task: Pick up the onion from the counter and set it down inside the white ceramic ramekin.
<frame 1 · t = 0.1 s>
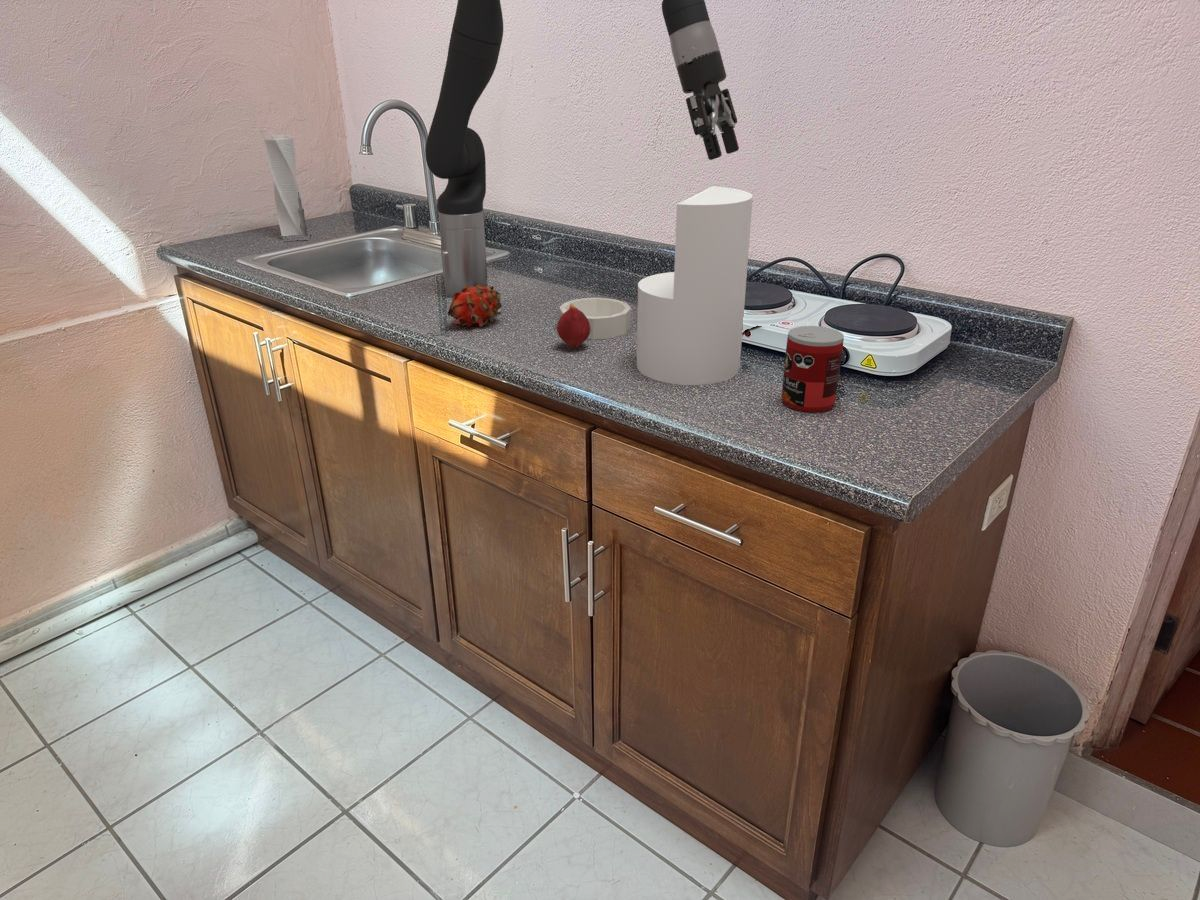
hand: (724, 155, 144), 31 cm above the counter, tool tilted 20°, fingers open, 8 cm apart
canned food: (807, 404, 128), on the counter
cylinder: (687, 367, 142), on the counter
ramekin: (595, 328, 160), on the counter
skyscraper: (294, 238, 230), on the counter
dragon fruit: (475, 326, 162), on the counter
onion: (574, 348, 150), on the counter
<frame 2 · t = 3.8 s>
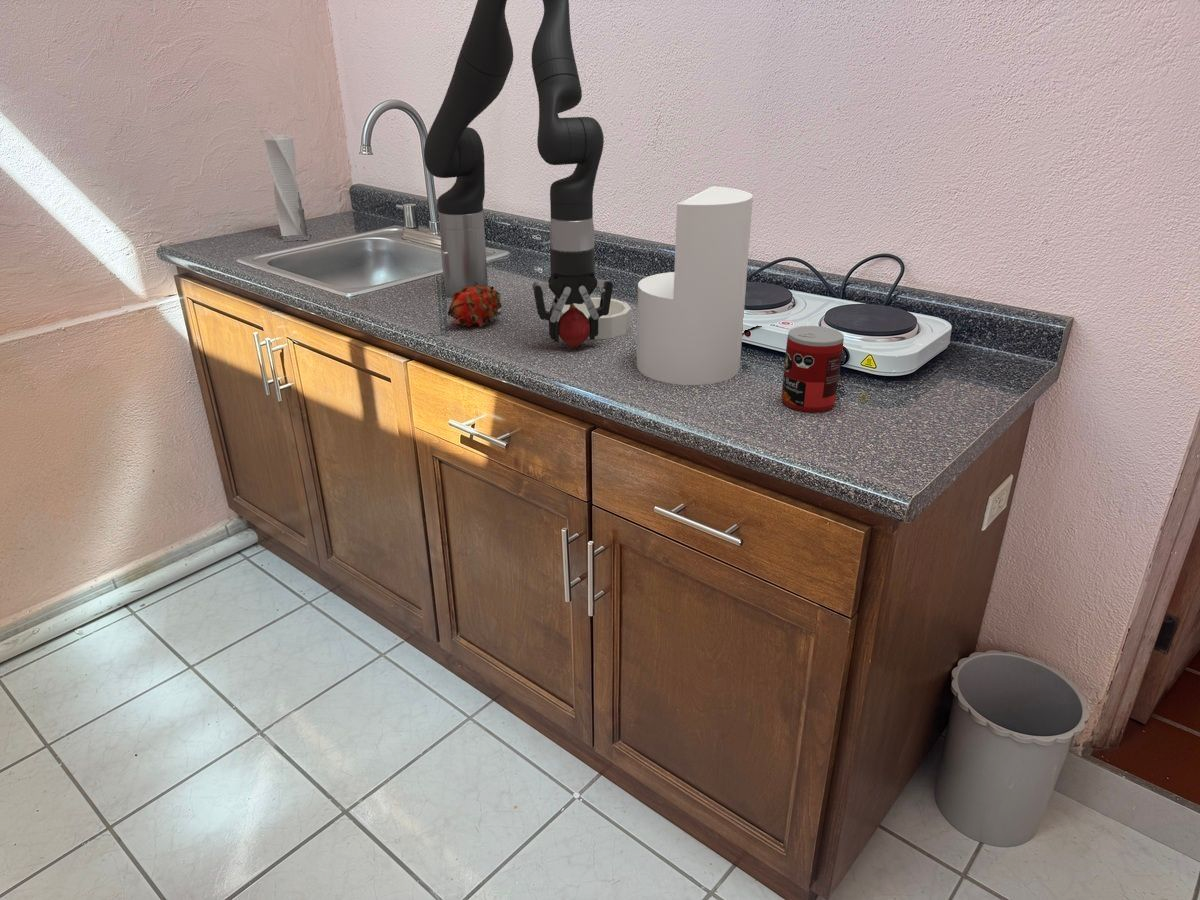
hand: (573, 339, 149), 2 cm above the counter, tool pointing down, fingers closed on onion, 6 cm apart
onion: (574, 348, 150), on the counter, touching gripper
everything else where it was.
when the fingers open (4 cm above the counter, at t = 8.7 s): onion drops 2 cm, resting on ramekin.
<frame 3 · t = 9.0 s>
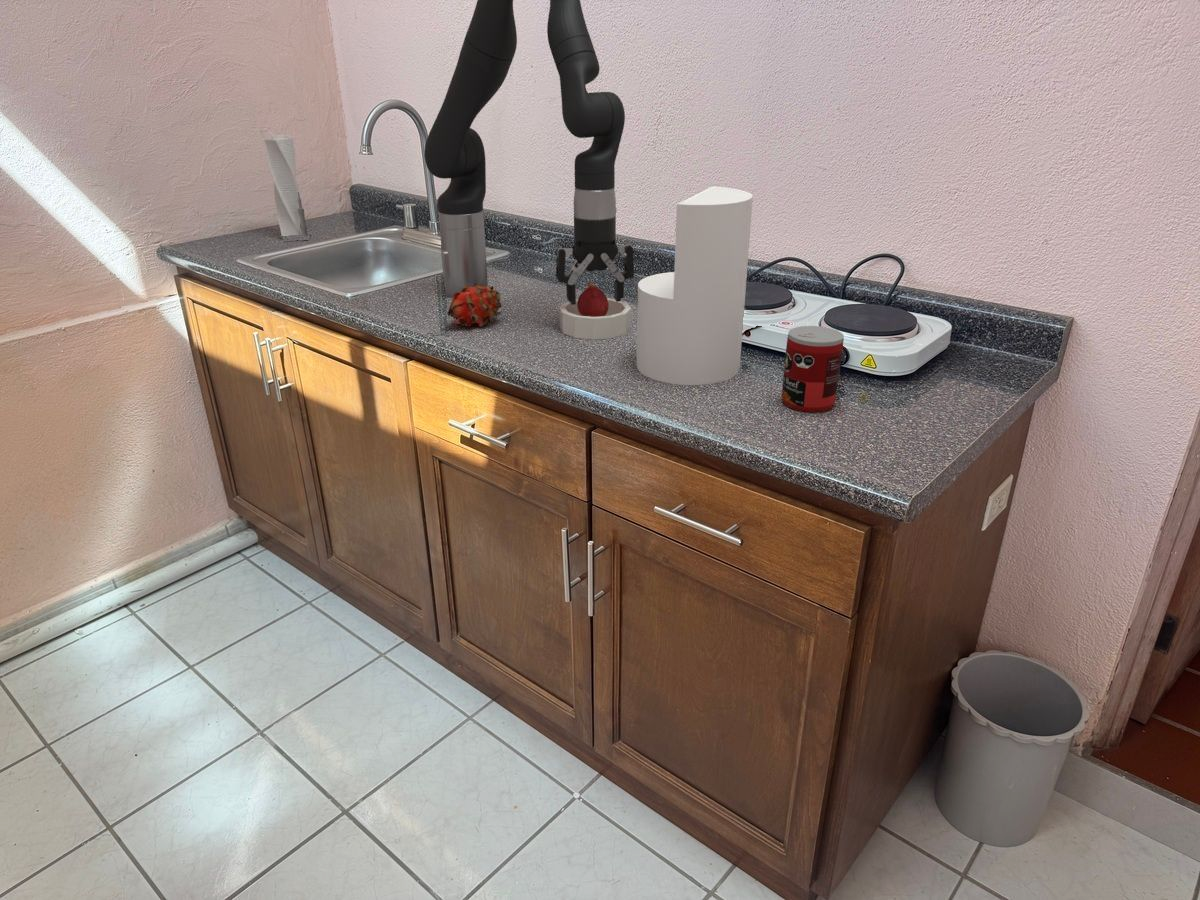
hand: (595, 302, 157), 5 cm above the counter, tool pointing down, fingers open, 8 cm apart
onion: (593, 324, 159), point 1 cm above the counter, touching ramekin
everything else where it was.
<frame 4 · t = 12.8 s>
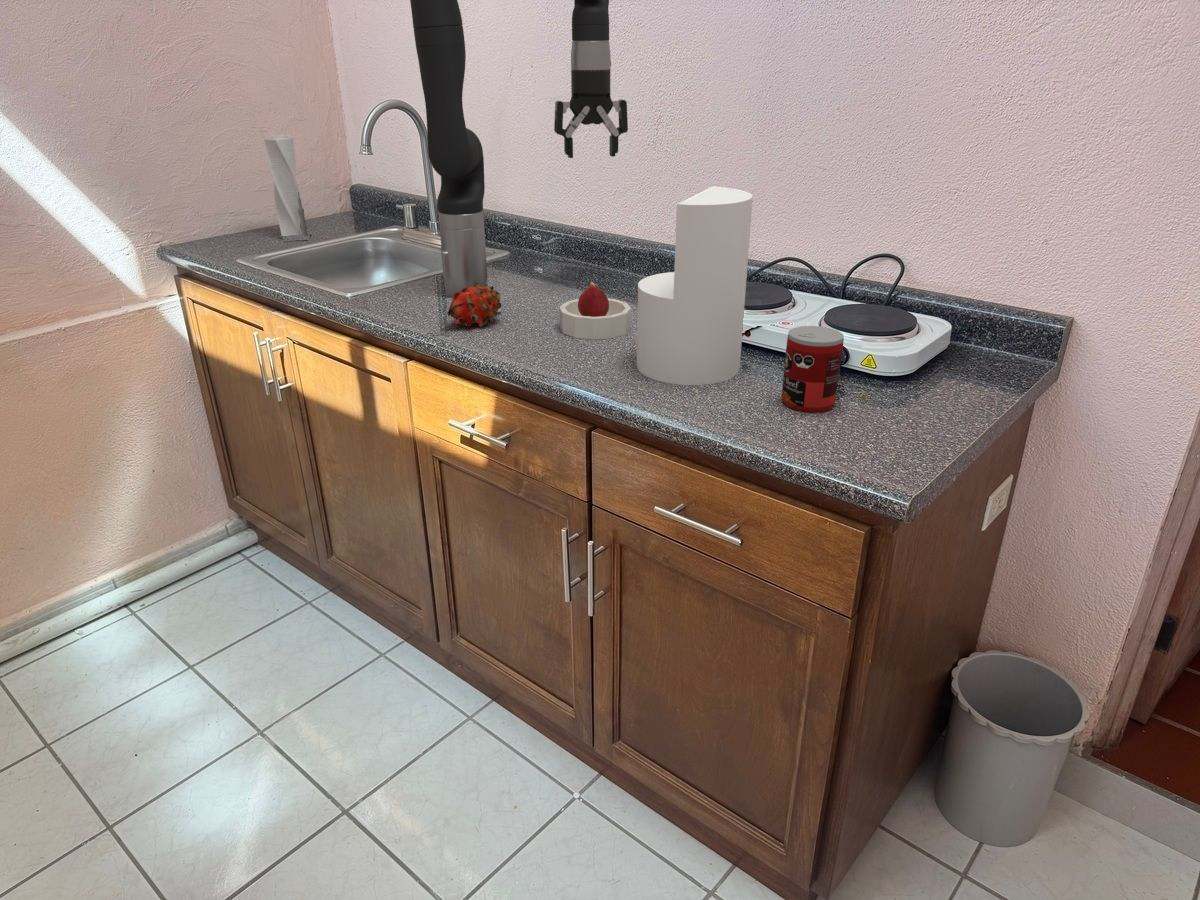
hand: (591, 156, 167), 28 cm above the counter, tool pointing down, fingers open, 8 cm apart
nothing on the counter moved.
at the end: onion 0.3 cm from the ramekin (horizontally); onion point 0.6 cm above the counter; the gripper is holding nothing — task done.
